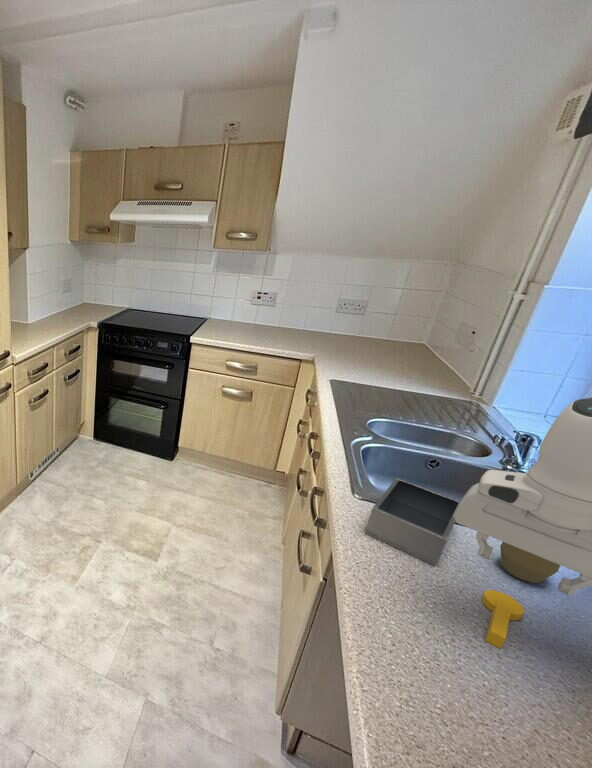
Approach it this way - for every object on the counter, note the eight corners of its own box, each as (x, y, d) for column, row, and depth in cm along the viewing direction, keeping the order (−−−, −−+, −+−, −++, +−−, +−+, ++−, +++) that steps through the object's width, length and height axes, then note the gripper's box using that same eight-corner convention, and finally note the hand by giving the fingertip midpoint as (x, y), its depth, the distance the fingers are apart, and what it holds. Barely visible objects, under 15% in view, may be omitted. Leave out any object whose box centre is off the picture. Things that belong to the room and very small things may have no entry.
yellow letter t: (522, 609, 74) (528, 599, 73) (514, 656, 65) (520, 646, 65) (483, 590, 77) (488, 581, 77) (471, 633, 69) (476, 623, 68)
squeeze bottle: (557, 595, 77) (603, 516, 70) (499, 576, 81) (537, 500, 74) (541, 567, 83) (582, 493, 77) (488, 551, 87) (522, 479, 81)
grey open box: (388, 500, 103) (396, 477, 101) (453, 526, 94) (463, 502, 92) (364, 533, 92) (372, 507, 89) (435, 566, 83) (447, 539, 80)
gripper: (672, 530, 56) (621, 604, 61) (475, 465, 71) (446, 530, 76) (679, 551, 53) (624, 629, 57) (468, 478, 67) (439, 546, 72)
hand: (521, 572), depth 67 cm, fingers open, 8 cm apart
